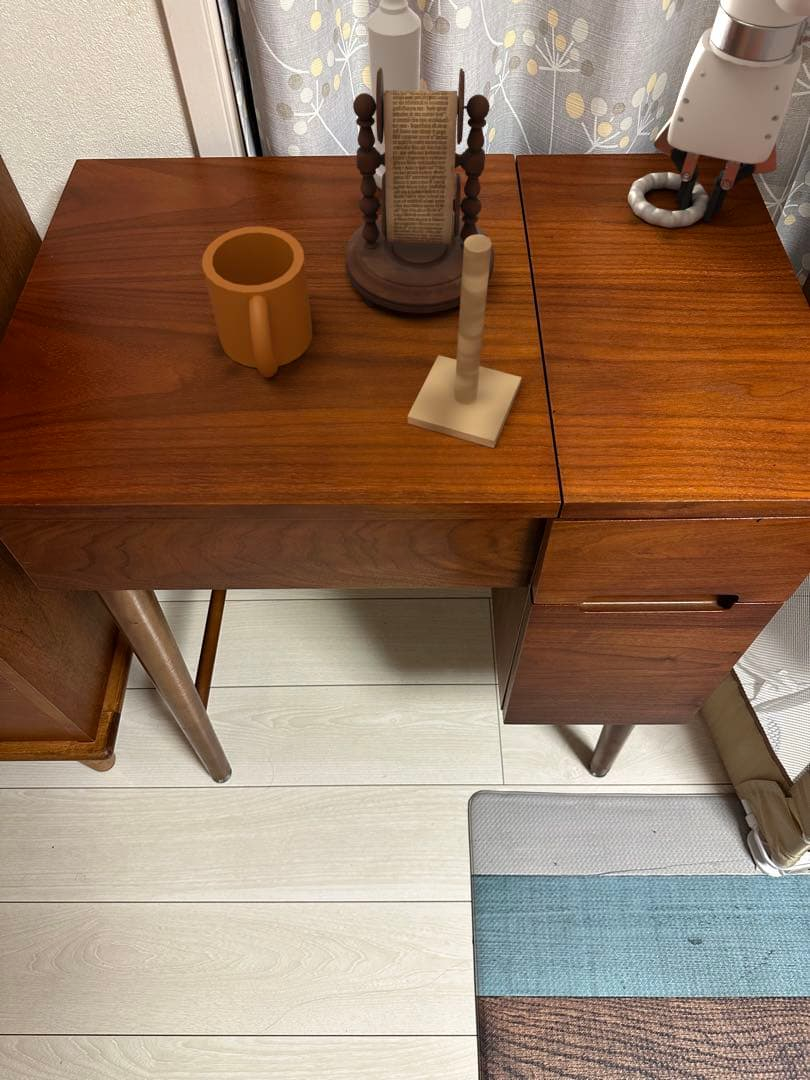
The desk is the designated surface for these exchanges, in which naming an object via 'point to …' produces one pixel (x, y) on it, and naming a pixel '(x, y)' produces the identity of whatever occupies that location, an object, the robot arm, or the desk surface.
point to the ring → (660, 215)
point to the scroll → (416, 197)
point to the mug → (259, 296)
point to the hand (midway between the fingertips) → (695, 210)
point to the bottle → (393, 54)
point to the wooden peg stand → (467, 367)
